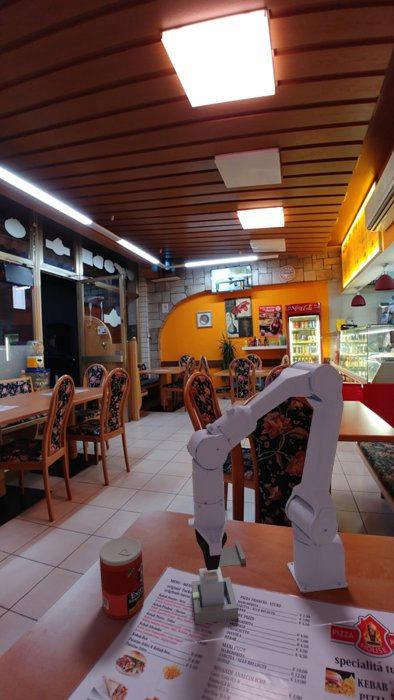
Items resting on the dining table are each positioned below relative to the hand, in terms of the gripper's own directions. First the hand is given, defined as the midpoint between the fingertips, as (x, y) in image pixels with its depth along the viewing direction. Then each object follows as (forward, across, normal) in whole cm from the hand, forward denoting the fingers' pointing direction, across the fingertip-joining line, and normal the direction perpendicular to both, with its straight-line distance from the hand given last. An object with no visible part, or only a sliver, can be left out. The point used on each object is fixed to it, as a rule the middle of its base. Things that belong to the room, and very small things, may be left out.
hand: (212, 567), depth 63 cm
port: (+7, 0, 0) cm, 7 cm away
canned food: (+8, -3, -17) cm, 19 cm away
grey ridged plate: (+7, -13, +5) cm, 16 cm away
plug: (+7, 0, 0) cm, 7 cm away
